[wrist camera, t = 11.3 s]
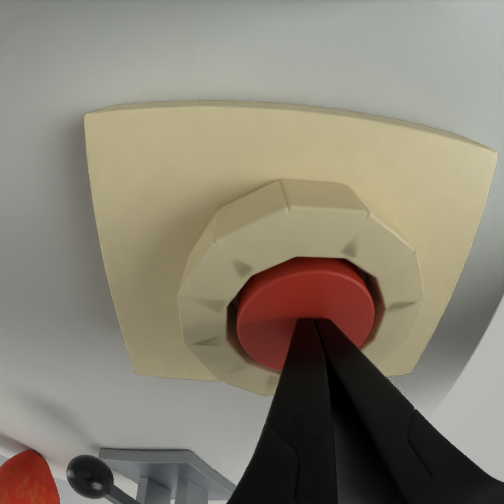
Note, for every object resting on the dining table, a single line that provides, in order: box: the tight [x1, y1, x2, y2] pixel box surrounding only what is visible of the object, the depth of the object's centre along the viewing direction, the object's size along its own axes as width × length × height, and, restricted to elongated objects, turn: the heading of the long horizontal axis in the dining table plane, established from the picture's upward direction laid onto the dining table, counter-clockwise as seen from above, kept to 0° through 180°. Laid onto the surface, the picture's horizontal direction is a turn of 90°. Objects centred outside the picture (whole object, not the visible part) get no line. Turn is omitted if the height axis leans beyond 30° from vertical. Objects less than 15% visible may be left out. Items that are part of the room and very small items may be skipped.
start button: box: [237, 256, 375, 371], centre depth 9 cm, size 4×4×2 cm
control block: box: [84, 100, 498, 396], centre depth 10 cm, size 12×10×4 cm
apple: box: [0, 450, 60, 504], centre depth 21 cm, size 9×8×11 cm
